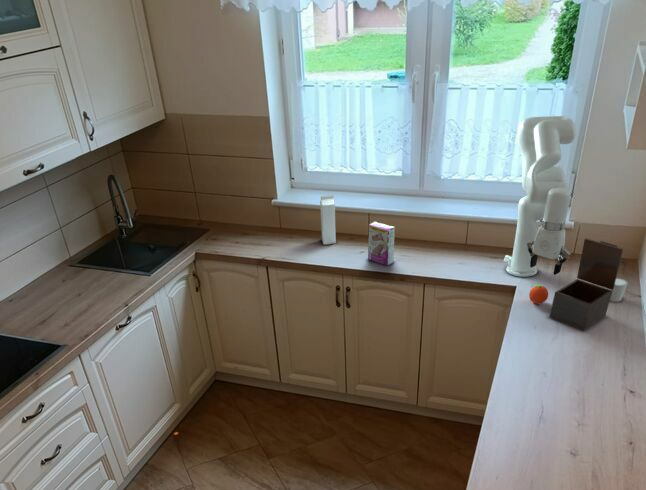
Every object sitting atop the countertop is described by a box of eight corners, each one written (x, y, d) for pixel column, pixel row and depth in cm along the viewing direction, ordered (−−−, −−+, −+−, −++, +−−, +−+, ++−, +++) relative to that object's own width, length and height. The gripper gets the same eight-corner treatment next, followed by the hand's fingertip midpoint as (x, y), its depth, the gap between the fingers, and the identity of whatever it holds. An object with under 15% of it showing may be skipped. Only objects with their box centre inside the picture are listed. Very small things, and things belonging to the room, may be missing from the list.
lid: (622, 249, 201) (630, 244, 203) (584, 239, 210) (592, 233, 212) (612, 290, 211) (619, 284, 214) (576, 278, 220) (584, 272, 222)
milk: (321, 240, 288) (319, 194, 275) (333, 238, 288) (332, 193, 275) (323, 244, 283) (321, 198, 270) (336, 243, 284) (334, 197, 270)
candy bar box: (367, 260, 267) (367, 224, 257) (374, 256, 270) (374, 221, 260) (387, 266, 261) (388, 230, 251) (394, 262, 264) (395, 226, 254)
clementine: (521, 300, 231) (524, 283, 226) (535, 295, 233) (538, 279, 229) (536, 308, 225) (540, 291, 221) (550, 304, 227) (554, 287, 223)
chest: (584, 330, 211) (591, 304, 205) (549, 317, 219) (555, 292, 213) (605, 316, 218) (612, 290, 212) (571, 303, 227) (577, 278, 220)
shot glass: (624, 302, 225) (629, 286, 221) (605, 302, 227) (610, 285, 222) (621, 294, 231) (626, 278, 226) (602, 293, 232) (606, 277, 228)
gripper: (526, 221, 214) (518, 266, 224) (570, 233, 203) (560, 279, 213) (537, 216, 218) (529, 260, 228) (581, 227, 207) (571, 273, 217)
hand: (544, 269), depth 221 cm, fingers open, 9 cm apart
